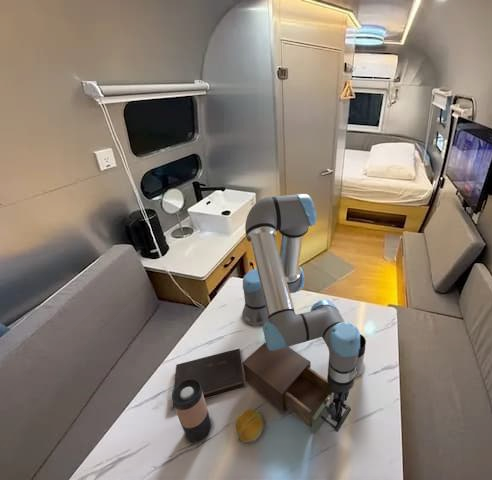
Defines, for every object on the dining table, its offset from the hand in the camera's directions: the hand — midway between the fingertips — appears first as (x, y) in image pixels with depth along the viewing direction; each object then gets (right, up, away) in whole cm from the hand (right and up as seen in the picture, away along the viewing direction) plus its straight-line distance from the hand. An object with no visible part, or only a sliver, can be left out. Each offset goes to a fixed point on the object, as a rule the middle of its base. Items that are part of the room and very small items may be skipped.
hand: (336, 419), depth 86 cm
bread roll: (-27, -3, 0) cm, 28 cm away
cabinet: (-21, +5, +15) cm, 26 cm away
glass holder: (+5, +6, +19) cm, 21 cm away
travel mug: (-43, -3, -1) cm, 43 cm away
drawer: (-7, +1, +6) cm, 9 cm away
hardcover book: (-46, +6, +15) cm, 48 cm away
